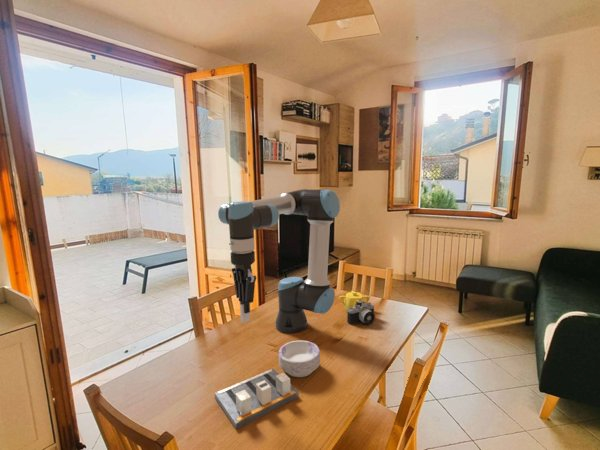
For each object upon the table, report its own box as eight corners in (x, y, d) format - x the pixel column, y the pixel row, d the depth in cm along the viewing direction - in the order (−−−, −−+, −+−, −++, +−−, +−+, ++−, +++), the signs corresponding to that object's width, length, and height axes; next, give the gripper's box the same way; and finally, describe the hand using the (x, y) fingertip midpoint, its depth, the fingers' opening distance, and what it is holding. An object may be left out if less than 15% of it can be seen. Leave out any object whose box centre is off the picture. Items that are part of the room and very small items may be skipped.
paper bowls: (273, 363, 122) (272, 344, 121) (309, 354, 128) (309, 336, 127) (287, 387, 109) (287, 366, 107) (327, 376, 115) (327, 355, 113)
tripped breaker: (256, 398, 100) (255, 383, 100) (264, 394, 102) (264, 379, 101) (262, 405, 97) (262, 390, 96) (271, 401, 99) (270, 386, 98)
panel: (215, 398, 104) (213, 378, 103) (273, 373, 117) (272, 354, 115) (236, 429, 91) (234, 406, 90) (298, 397, 104) (298, 377, 103)
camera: (354, 330, 148) (355, 309, 146) (343, 322, 156) (344, 302, 154) (381, 323, 154) (381, 303, 153) (369, 315, 162) (369, 297, 161)
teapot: (373, 311, 167) (373, 293, 165) (357, 319, 159) (357, 299, 157) (352, 304, 177) (352, 286, 176) (336, 310, 169) (336, 292, 167)
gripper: (223, 248, 104) (226, 317, 108) (240, 256, 94) (244, 332, 97) (244, 245, 108) (246, 311, 112) (263, 252, 98) (265, 325, 102)
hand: (245, 320), depth 105 cm, fingers closed
